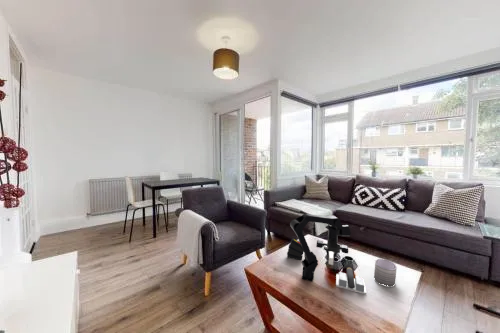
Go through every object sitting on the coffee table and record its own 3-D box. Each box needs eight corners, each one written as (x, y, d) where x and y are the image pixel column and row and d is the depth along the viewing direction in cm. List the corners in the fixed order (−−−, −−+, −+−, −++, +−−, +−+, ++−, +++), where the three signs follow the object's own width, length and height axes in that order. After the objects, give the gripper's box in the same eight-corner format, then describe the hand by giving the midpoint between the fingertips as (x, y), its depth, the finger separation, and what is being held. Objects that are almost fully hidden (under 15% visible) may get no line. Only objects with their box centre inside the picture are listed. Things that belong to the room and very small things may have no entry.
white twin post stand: (336, 286, 122) (336, 278, 121) (336, 275, 133) (336, 268, 132) (366, 294, 116) (367, 286, 115) (363, 282, 127) (364, 274, 126)
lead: (354, 289, 118) (355, 283, 118) (347, 287, 119) (348, 281, 119) (352, 273, 133) (352, 268, 133) (346, 272, 135) (346, 267, 134)
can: (398, 284, 126) (400, 265, 125) (389, 289, 120) (390, 270, 120) (379, 274, 136) (381, 257, 135) (369, 278, 130) (371, 261, 129)
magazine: (283, 252, 157) (292, 237, 154) (298, 263, 154) (308, 247, 151) (282, 255, 153) (292, 239, 150) (298, 265, 150) (308, 249, 147)
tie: (328, 255, 136) (329, 249, 136) (332, 256, 136) (333, 250, 135) (328, 264, 125) (329, 257, 125) (333, 265, 124) (333, 258, 124)
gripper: (316, 237, 125) (314, 261, 126) (350, 244, 118) (347, 269, 120) (317, 231, 135) (315, 253, 137) (348, 236, 129) (346, 260, 130)
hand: (330, 259), depth 130 cm, fingers closed on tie, 2 cm apart
